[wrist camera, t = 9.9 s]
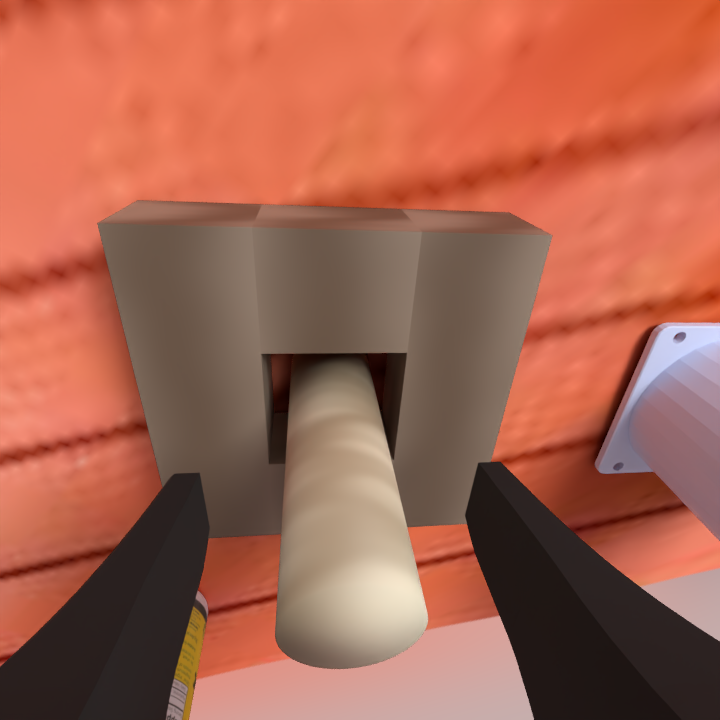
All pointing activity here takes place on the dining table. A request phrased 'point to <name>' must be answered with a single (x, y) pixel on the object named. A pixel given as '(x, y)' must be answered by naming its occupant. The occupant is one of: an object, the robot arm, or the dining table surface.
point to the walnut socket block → (321, 337)
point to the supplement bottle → (188, 663)
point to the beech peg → (342, 524)
